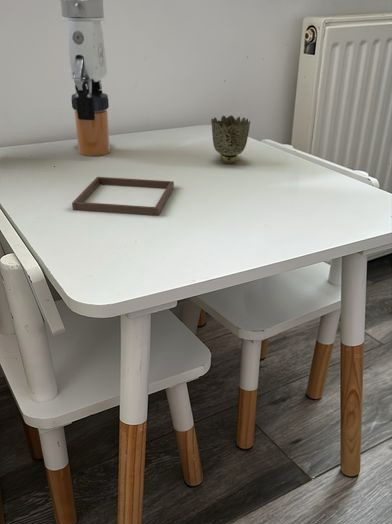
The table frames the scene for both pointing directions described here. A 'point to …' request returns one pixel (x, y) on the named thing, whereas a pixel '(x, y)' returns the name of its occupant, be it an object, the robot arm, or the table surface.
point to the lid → (99, 101)
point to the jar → (93, 134)
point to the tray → (125, 209)
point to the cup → (230, 137)
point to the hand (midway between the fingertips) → (91, 114)
